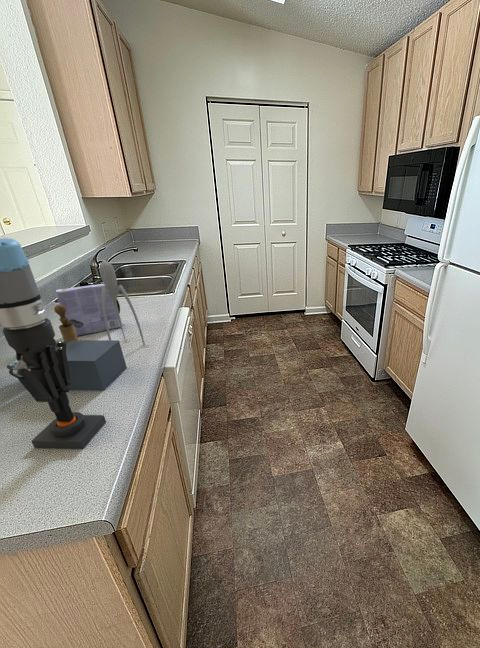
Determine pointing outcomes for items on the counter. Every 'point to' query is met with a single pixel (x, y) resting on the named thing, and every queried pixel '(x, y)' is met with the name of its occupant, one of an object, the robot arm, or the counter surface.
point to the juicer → (113, 294)
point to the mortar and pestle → (65, 325)
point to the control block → (70, 433)
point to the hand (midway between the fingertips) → (66, 419)
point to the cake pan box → (88, 308)
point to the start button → (66, 423)
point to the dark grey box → (94, 363)
